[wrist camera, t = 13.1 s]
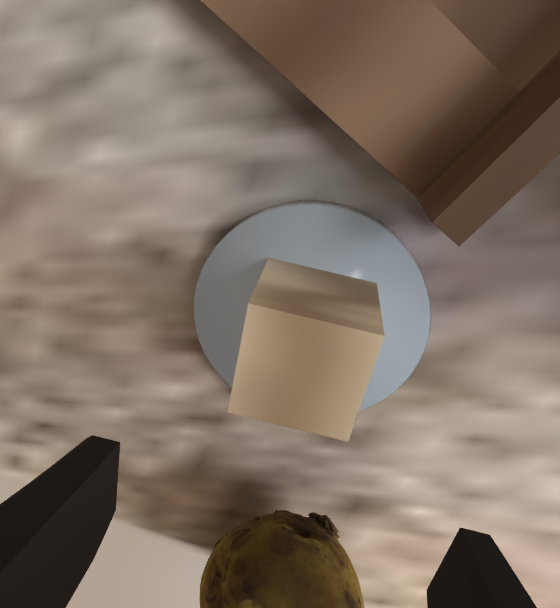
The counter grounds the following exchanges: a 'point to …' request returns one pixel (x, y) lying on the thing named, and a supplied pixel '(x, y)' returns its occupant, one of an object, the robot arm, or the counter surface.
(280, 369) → the block
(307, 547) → the potato
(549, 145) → the board
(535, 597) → the counter surface
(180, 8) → the counter surface
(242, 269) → the saucer
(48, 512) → the robot arm
